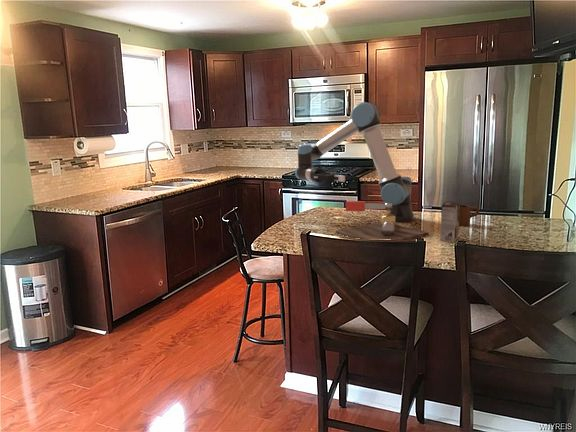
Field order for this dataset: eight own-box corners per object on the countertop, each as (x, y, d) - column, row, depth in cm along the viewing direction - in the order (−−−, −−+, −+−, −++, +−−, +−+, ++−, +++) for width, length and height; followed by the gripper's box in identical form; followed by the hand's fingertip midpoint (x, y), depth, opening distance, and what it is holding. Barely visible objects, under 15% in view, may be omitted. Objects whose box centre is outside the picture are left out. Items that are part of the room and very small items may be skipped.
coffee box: (444, 236, 213) (445, 201, 209) (458, 237, 209) (460, 202, 206) (439, 240, 205) (440, 204, 202) (454, 242, 202) (456, 205, 198)
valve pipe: (381, 225, 233) (382, 205, 230) (395, 225, 231) (395, 205, 229) (380, 236, 211) (381, 214, 209) (395, 237, 209) (395, 214, 207)
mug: (476, 222, 236) (477, 204, 234) (480, 226, 229) (481, 207, 227) (452, 223, 238) (452, 205, 236) (455, 226, 230) (456, 207, 228)
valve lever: (391, 210, 220) (392, 201, 219) (391, 211, 217) (392, 202, 216) (346, 209, 225) (346, 200, 224) (345, 211, 222) (345, 202, 221)
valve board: (383, 224, 239) (383, 221, 239) (428, 235, 214) (428, 232, 214) (335, 233, 223) (335, 230, 223) (379, 246, 198) (379, 243, 198)
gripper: (325, 180, 250) (354, 185, 231) (305, 183, 243) (333, 187, 224) (325, 166, 249) (354, 170, 229) (305, 168, 242) (333, 172, 222)
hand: (343, 178), depth 226 cm, fingers closed
